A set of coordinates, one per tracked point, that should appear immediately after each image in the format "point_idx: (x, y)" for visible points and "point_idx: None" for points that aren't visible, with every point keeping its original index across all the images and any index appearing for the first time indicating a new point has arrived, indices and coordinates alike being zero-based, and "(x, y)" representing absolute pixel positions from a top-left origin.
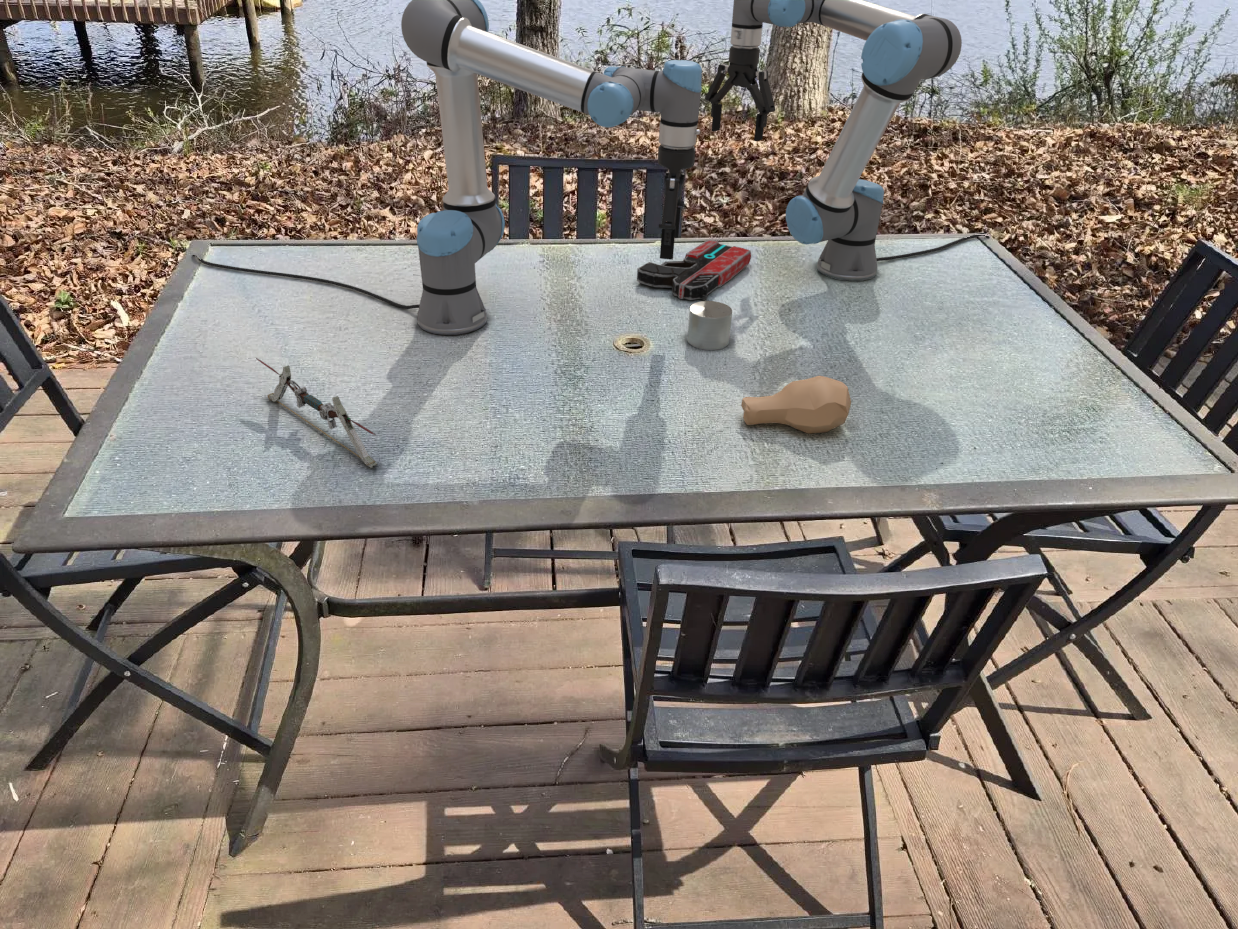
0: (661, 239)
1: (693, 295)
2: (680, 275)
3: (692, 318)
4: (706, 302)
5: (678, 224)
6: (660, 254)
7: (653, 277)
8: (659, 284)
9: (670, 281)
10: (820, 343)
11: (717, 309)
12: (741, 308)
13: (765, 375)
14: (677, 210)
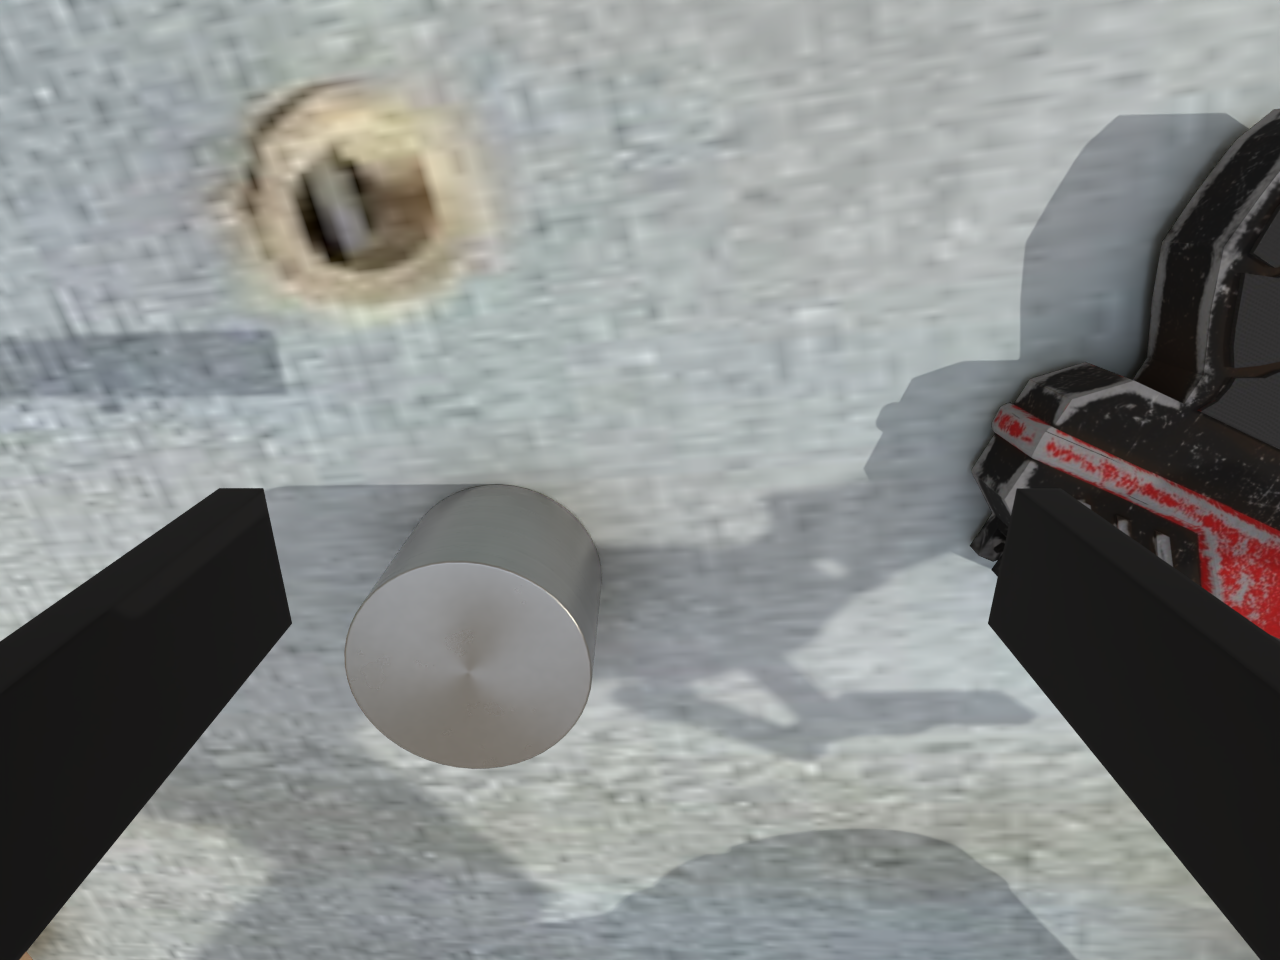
0: (31, 625)
1: (987, 492)
2: (1195, 422)
3: (394, 566)
4: (563, 644)
5: (1079, 728)
6: (191, 513)
7: (1209, 239)
8: (1167, 280)
9: (1174, 352)
10: (591, 944)
11: (477, 702)
12: (895, 696)
13: (256, 784)
14: (1255, 898)
